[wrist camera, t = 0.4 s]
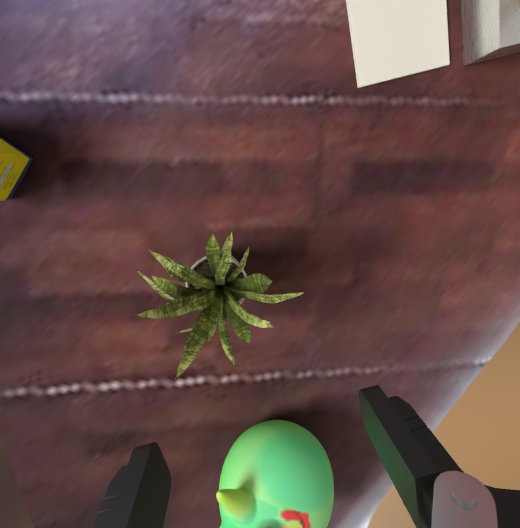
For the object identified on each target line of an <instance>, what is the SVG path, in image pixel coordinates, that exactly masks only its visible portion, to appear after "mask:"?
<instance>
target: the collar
mask: <svg viewBox="0 0 520 528" xmlns="http://www.w3.org/2000/svg"><path fill="white" fill-rule="evenodd" d="M461 15H462V39H463V63H464V66H466V65H470V64H474V63H478V62H482V61H486V60H490V59H494V58H498V57H502V56H506V55H510V54H514V53H518V52H520V0H461Z"/></svg>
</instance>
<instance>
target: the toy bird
mask: <svg viewBox="0 0 520 528" xmlns="http://www.w3.org/2000/svg"><path fill="white" fill-rule="evenodd" d="M216 497H217V500H218V502H219V508H220V514H221V518H222V523H221V526H220V528H327V526H328V523H329V520H330V517H331V513H332V507H333V500H334V481H333V473H332V469H331V465H330V461H329V459H328V456H327V454H326V452H325V450H324V448H323V446H322V445H321V443H320V442H319V441H318V439H317V438H316V437H315V436H314V435H313V434H312V433H311V432H309V431H308V430H307V429H305V428H303V427H302V426H300V425H298V424H295V423H293V422H289V421H285V420H269V421H264V422H261V423H258V424H256V425H254V426H252V427H250V428H249V429H247V430H246V431H245V432H244V433H243V434H241V435H240V437H239V438H238V439H237V440H236V441H235V443H234V444H233V446H232V447H231V449H230V451H229V453H228V455H227V457H226V460H225V462H224V465H223V469H222V472H221V477H220V484H219V491H218V492H217V494H216Z"/></svg>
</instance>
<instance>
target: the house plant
mask: <svg viewBox="0 0 520 528" xmlns="http://www.w3.org/2000/svg"><path fill="white" fill-rule="evenodd" d="M232 231H233V230H232ZM232 231H231V232H230V234H229V236H228V238H227V239H226V241H225V243H224V245H223V247H222V250H221V251H220V247H219V244H218V242H217V241H216V239H215V237H214V233H213V235H212V237H211V238H210V239H209V241H208V242H207V245H206V256H205V257H203V258H202V259H200V260H199V261H197V262H196V263H195V264H194V265H193V266H192V267H191V269H190V268H188V267H187V266H184V265H182V264H178V263H176V262H174V261H173V260H172V259H170V258H168V257H166V258H167V259H168V260H167V259H166V258H164V257H163V256H161V255H160V254H157V253H154V252H152V251H150V250H149V251H150V253H151V254H152V255H153V256H154V257H155V258H156V259H157V260H158V262H159V263H161V264H162V265H163V267H164V268H165V271H166V273H167V274H168V275H169V276H170V277H172V278H173V279H176V280H179V281H183V282H186V287H183V286H179V285H177V284H175V283H173V282H171V281H169V280H166V279H164V278H159V277H154V276H153V279H154V283H155V284H154V283H153V282H152V281H151V280H150V279H148V278H147V277H146V276H144V275H143V274H142V273H140V272H139V271H137V270H136V271H137V272H138V273H139V274H140V275H141V276H142V277H143V278H144V279H145V280H146V281H147V282H148V283H149V284H150V285H151V287H152V288H153V289H154V290H155V291H156V292H158V293H159V294H160V295H161V296H162V297H164V298H165V299H167V300H169V302H168V303H166V304H165V305H163V306H161V307H160V308H157V309H153V310H148V311H145V312H143V313H141V314H139V315H137V316H139V317H144V318H152V319H157V318H167V317H168V318H173V317H176V316H180V315H184V314H186V313H189V312H192V311H197V310H202V311H201V313H200V315H199V316H198V318H197V320H196V322H195V324H194V325H193V328H190V329H186V330H183V331H180V332H177V333H181V332H188V331H192V332H191V334H190V335H189V337H188V339H187V341H186V342H185V346H184V353H183V358H182V360H181V362H180V364H179V366H178V370H177V376H176V378H177V377H178V376H180V375H181V374H182V373H183V372H184V371H185V370H186V369H187V368H188V367H189V365H190V364H191V363H192V361H193V360H194V358H195V357H196V356H197V354H198V352H199V350H200V349H201V347H202V345H203V344H204V342H205V341H206V339H207V338H208V342H209V341H210V339H211V338H212V336H213V335H214V333H215V330H216V328H217V325H218V329H219V338H220V341H221V344H222V347H223V349H224V351H225V353H226V355H227V356H228V358H229V359H230V360H231V362H232V363H233V364H234V365H235V359H234V356H233V354H232V344H231V340H230V337H229V333H228V327H227V317H226V314H227V316H228V318H229V320H230V322H231V324H232V326H233V329H234V331H235V333H236V334H237V336H238V337H239V338H240V339H242V340H243V341H245V342H247V343H249V342H250V339H251V337H252V335H251V331H250V328H249V327H248V325H247V324H246V323H245V322H244V321H246V322H247V323H249V324H251V325H254V326H257V327H262V328H272V327H273V326H271V325H270V324H269V323H271V322H268V321H266V320H261V319H260V318H258V317H257V316H255V315H253V314H251V313H249V312H248V311H246V310H245V309H244V308H243V307H242V306H241V305H240V304H241V303H242V302H243V301H244V299H245V298H248V299H251V300H255V301H259V302H264V303H277V302H281V301H284V300H287V299H291V298H294V297H297V296H299V295H301V294H302V293H305V292H299V293H289V294H279V295H265V294H260V293H264V292H265V291H266V290H267V289H268V287H269V286H270V284H271V283H272V282H273V281H271V280H270V279H269V278H268V277H266V276H265V275H264V274H261V273H255V274H252V275H249V276H247V274H246V272H245V271H244V267H245V264H246V260H247V256H248V253H249V247H248V249H247V251H246V252H245V254H244V256H243V258H242V260H241V261H240V263H239V262H238V261H237V260H236V259H235V258H234V257H233V256H232V255H231V249H232V243H233V239H232ZM165 256H166V255H165ZM168 294H172V295H177V296H187V297H184V298H180V299H176V300H175V299H174V298H172V297H170V296H169V295H168ZM177 333H175V334H177ZM208 342H207V343H208ZM207 343H206V344H207ZM174 379H175V378H174Z"/></svg>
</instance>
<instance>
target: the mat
mask: <svg viewBox="0 0 520 528" xmlns="http://www.w3.org/2000/svg"><path fill="white" fill-rule="evenodd" d="M346 4H347V11H348V18H349V26H350V33H351V41H352V48H353V56H354V63H355V71H356V78H357V86H358V88H361V87H365V86H368V85H372V84H376V83H380V82H384V81H388V80H392V79H396V78H400V77H404V76H408V75H412V74H416V73H420V72H424V71H428V70H432V69H436V68H440V67H444V66H447V65H449V64H450V62H449V43H448V25H447V6H446V0H346Z"/></svg>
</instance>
